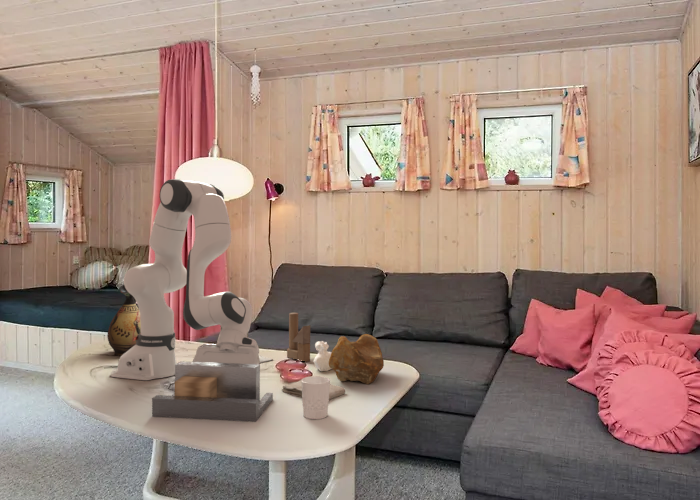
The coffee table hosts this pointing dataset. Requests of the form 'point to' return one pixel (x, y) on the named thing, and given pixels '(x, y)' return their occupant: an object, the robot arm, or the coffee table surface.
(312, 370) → the coffee table surface
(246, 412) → the base
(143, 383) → the coffee table surface
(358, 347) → the rough brown rock
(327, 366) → the bust
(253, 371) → the block
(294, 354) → the wooden block
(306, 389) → the white cup
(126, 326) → the ceramic jug
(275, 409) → the coffee table surface
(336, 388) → the washcloth
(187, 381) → the oak block
